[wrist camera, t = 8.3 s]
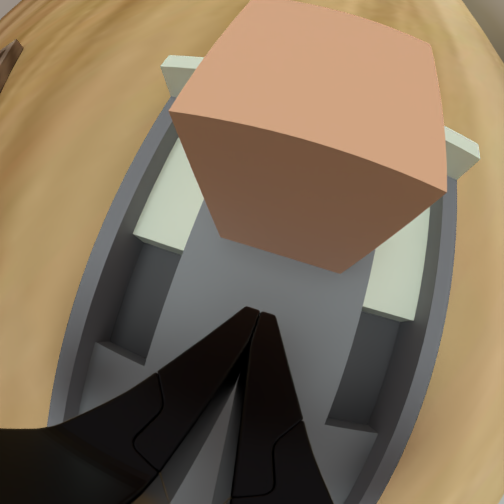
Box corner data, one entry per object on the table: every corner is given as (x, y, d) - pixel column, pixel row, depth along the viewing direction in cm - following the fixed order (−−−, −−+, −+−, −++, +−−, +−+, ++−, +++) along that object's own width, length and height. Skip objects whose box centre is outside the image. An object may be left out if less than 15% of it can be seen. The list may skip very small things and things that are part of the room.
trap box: (325, 531, 11) (345, 587, 6) (74, 446, 13) (18, 474, 7) (429, 191, 17) (478, 144, 11) (189, 119, 19) (168, 55, 13)
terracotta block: (340, 274, 14) (447, 192, 5) (220, 237, 14) (168, 110, 6) (361, 169, 15) (430, 44, 6) (257, 139, 16) (255, -5, 7)
